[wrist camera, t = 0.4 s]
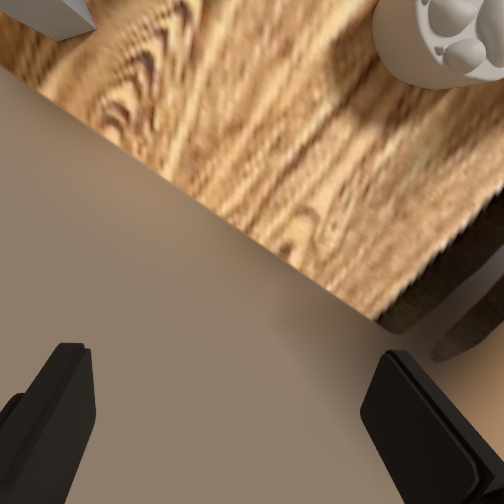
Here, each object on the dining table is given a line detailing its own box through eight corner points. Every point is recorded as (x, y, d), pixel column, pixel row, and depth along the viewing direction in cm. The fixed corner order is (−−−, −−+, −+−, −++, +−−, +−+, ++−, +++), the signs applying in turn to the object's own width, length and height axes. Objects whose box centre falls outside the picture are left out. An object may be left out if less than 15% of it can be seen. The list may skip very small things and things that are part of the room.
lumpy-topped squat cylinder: (452, 97, 36) (522, 90, 28) (356, 67, 33) (403, 50, 25) (497, -8, 32) (593, -51, 24) (393, -52, 29) (462, -117, 21)
